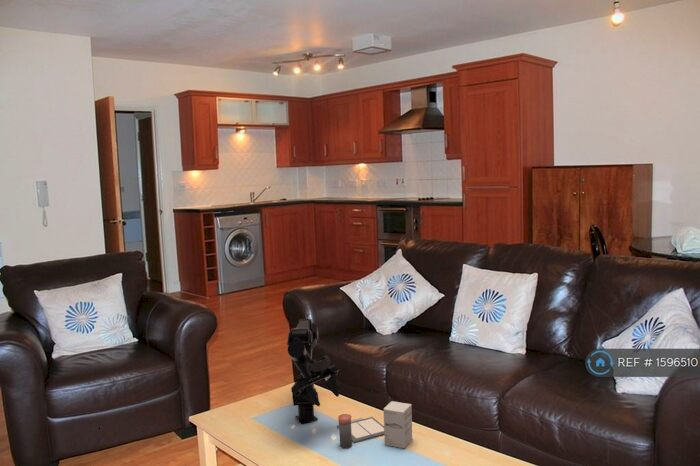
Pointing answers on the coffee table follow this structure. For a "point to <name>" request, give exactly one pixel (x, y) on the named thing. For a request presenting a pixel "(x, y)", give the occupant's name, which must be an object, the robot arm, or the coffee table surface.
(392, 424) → the supplement box
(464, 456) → the coffee table surface
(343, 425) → the ball
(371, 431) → the grey framed board
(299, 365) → the robot arm
